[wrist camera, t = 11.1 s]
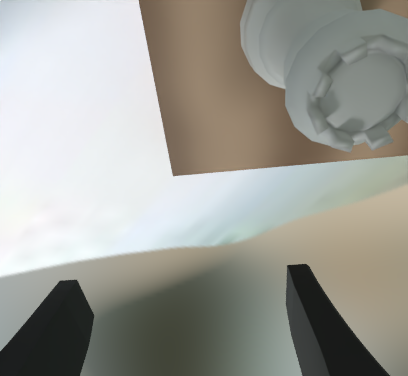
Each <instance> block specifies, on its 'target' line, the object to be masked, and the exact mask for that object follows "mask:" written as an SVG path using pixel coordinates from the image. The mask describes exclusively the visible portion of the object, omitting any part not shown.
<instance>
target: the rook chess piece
mask: <svg viewBox="0 0 408 376" xmlns="http://www.w3.org/2000/svg"><path fill="white" fill-rule="evenodd" d="M240 32H241V47H242V49H243V51H244V53H245V55H246V57H247V60H248V62H249V64H250V66H251V67H252V68H253V70H254V71H255V72H256V73H257V74H258V75H259V76H260V77H262V78H263V79H264V80H265V81H266V82H267V83H268V84H270V85H273V86H276V87H280V88H283V89H285V106H286V109H287V111H288V113H289V116H290V118H291V120H292V122H293V125H294V127H295V128H297V129H298V130H299V131H300V132H301V133H303V134H304V135H305V136H306V137H307V138H309V139H310V140H311V141H314V142H318V143H321V144H325V145H329V146H331V147H332V148H335V149H339V150H343V151H346V152H350V153H351V150H352V147H353V145H359V144H361V143H364V142H366V143H367V145H368V146H369V147H370V149H371V150H372V151H373V150H375V149H378V148H380V147H382V146H385V145H387V144H390V143H392V142H394V141H393V139H392V138H391V136H390V134H389V133H388V132H387V131H388V130H390V129H391V128H392V127H393V126H394V125H396V124H397V123H398V122H399V121H401V120H403V121H405V122H406V123H408V19H407V18H405V17H402V16H399V15H397V14H394V13H391V12H388V11H385V10H382V9H375V10H366V11H363V10H362V7H361V3H360V0H247V2H246V5H245V9H244V12H243V15H242V18H241V21H240Z"/></svg>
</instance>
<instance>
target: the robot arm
mask: <svg viewBox="0 0 408 376" xmlns="http://www.w3.org/2000/svg"><path fill="white" fill-rule="evenodd" d="M286 307H287V313H288V319H289V325H290V331H291V336H292V339H293V343H294V347H295V350H296V354H297V357H298V361H299V365H300V368H301V372H302V375H303V376H390V375H389V374H388V373H387V372H386V371H385V370H384V369H383V367H381V365H380V364H379V363H378V362H377V361H376V360H375V358H374V357H373V356H372V355H371V354H370V352H369V351H368V350H367V349H366V348H365V347H364V345H363V344H362V343H361V342H360V340H359V339H358V338H357V337H356V335H355V334H354V333H353V331H352V330H351V329H350V327H349V326H348V325H347V324H346V322H345V321H344V319H343V318H342V317H341V315H340V314H339V313H338V311H337V310H336V308H335V307H334V306H333V304H332V303H331V301H330V300H329V298H328V297H327V295H326V294H325V292H324V291H323V289H322V287H321V286H320V284H319V283H318V281H317V279H316V278H315V276H314V274H313V272H312V271H311V269H310V267H309V266H308V265H307V264H298V265H288V266H287V288H286ZM93 319H94V314H93V312H92V310H91V308H90V306H89V304H88V302H87V300H86V298H85V296H84V293H83V292H82V290H81V287H80V285H79V283H78V281H77V280H66V281H59V283H58V284H57V285H56V286H55V287H54V289H53V290H52V291H51V292H50V294H49V295H48V296H47V297H46V298H45V299H44V301H43V302H42V303H41V304H40V306H39V307H38V308H37V309H36V310H35V312H34V313H33V314H32V315H31V317H30V318H29V319H28V320H27V321H26V323H25V324H24V325H23V326H22V327H21V328H20V330H19V331H18V332H17V333H16V334H15V335H14V337H13V338H12V339H11V340H10V341H9V342H8V344H7V345H6V346H5V347H4V348H3V349H2V350H1V351H0V376H80V373H81V370H82V366H83V363H84V360H85V357H86V353H87V350H88V346H89V342H90V337H91V331H92V326H93Z"/></svg>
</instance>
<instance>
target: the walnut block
mask: <svg viewBox="0 0 408 376" xmlns="http://www.w3.org/2000/svg"><path fill="white" fill-rule="evenodd" d="M246 2H247V0H139V4H140V9H141V15H142V20H143V25H144V30H145V35H146V40H147V45H148V50H149V56H150V61H151V66H152V71H153V76H154V81H155V86H156V91H157V96H158V102H159V107H160V112H161V117H162V122H163V127H164V132H165V137H166V143H167V148H168V153H169V158H170V163H171V168H172V173H173V176H179V175H191V174H202V173H213V172H224V171H236V170H247V169H258V168H269V167H280V166H292V165H303V164H314V163H325V162H337V161H348V160H359V159H370V158H382V157H393V156H404V155H408V123H406V122H405V121H403V120H401V121H399V122H398V123H397V124H396V125H394V126H393V127H392V128H391V129H390V130H388V131H387V132H388V133H389V134H390V136H391V138H392V139H393V141H394V142H392V143H390V144H387V145H385V146H382V147H380V148H378V149H375V150H373V151H372V150H371V149H370V147H369V146H368V145H367V143H366V142H364V143H361V144H359V145H353V147H352V150H351V153H350V152H346V151H343V150H339V149H335V148H332V147H331V146H329V145H325V144H321V143H318V142H314V141H311V140H310V139H309V138H307V137H306V136H305V135H304V134H303V133H301V132H300V131H299V130H298V129H297V128H295V127H294V125H293V122H292V120H291V118H290V116H289V113H288V111H287V109H286V106H285V89H283V88H280V87H276V86H273V85H270V84H268V83H267V82H266V81H265V80H264V79H263V78H262V77H260V76H259V75H258V74H257V73H256V72H255V71H254V70H253V68H252V67H251V66H250V64H249V62H248V60H247V57H246V55H245V53H244V51H243V49H242V47H241V32H240V21H241V18H242V15H243V12H244V9H245V5H246ZM360 3H361V7H362V10H363V11H366V10H375V9H382V10H385V11H388V12H391V13H394V14H397V15H399V16H402V17H405V18H407V19H408V0H360Z"/></svg>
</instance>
